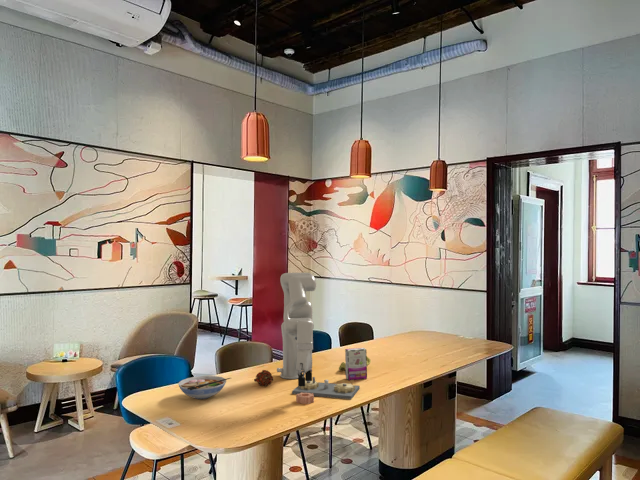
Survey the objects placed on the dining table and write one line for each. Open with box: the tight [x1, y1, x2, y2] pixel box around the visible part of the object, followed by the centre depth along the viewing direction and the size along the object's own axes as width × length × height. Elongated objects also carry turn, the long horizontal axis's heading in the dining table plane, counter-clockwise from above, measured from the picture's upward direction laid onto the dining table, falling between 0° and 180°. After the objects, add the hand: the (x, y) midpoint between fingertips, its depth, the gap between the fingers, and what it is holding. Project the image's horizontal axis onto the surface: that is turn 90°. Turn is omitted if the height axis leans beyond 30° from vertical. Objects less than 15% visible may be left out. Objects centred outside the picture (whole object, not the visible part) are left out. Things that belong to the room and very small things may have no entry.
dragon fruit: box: [253, 369, 274, 387], centre depth 243 cm, size 8×8×12 cm
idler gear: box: [295, 393, 315, 405], centre depth 216 cm, size 8×7×3 cm
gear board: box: [291, 376, 361, 400], centre depth 232 cm, size 30×18×6 cm, turn 72°
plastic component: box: [338, 356, 371, 371], centre depth 275 cm, size 20×7×10 cm
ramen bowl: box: [178, 375, 231, 400], centre depth 224 cm, size 25×23×8 cm
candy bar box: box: [344, 347, 368, 381], centre depth 255 cm, size 11×5×16 cm, turn 105°
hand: (305, 383), depth 216 cm, fingers open, 9 cm apart
